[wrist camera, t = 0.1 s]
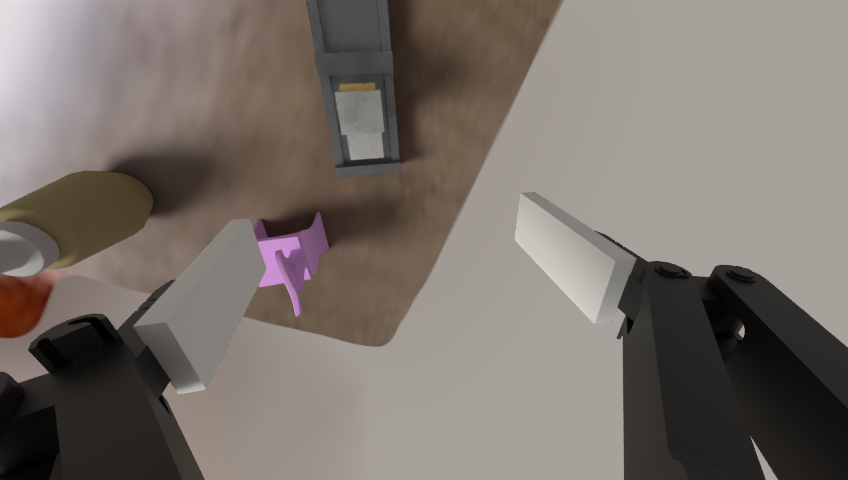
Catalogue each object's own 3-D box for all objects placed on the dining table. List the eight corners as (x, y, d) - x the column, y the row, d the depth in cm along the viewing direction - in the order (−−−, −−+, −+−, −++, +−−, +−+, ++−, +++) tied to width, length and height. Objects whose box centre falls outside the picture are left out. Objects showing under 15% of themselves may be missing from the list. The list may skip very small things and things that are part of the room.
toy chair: (251, 212, 41) (200, 275, 28) (317, 204, 42) (297, 261, 29) (271, 263, 45) (234, 338, 32) (330, 254, 46) (318, 323, 33)
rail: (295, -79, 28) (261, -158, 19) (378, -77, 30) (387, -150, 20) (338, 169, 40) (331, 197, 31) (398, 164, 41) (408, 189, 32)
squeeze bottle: (85, 213, 37) (-116, 311, 21) (83, 151, 34) (-152, 213, 18) (162, 232, 40) (34, 330, 24) (167, 176, 37) (24, 248, 21)
